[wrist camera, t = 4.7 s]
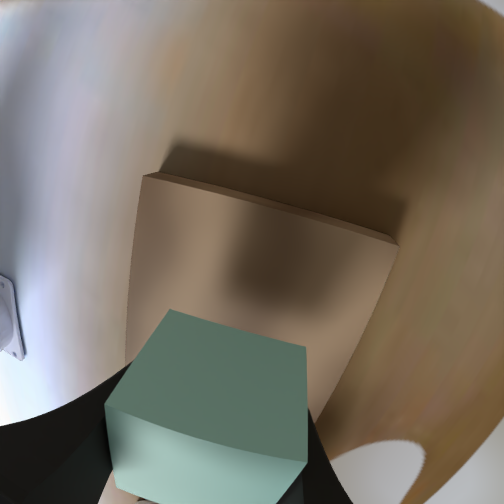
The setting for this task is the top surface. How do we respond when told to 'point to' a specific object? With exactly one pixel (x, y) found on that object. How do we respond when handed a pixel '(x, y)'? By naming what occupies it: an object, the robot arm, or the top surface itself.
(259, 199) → the base slab
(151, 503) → the supplement bottle
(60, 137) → the top surface
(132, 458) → the cube
